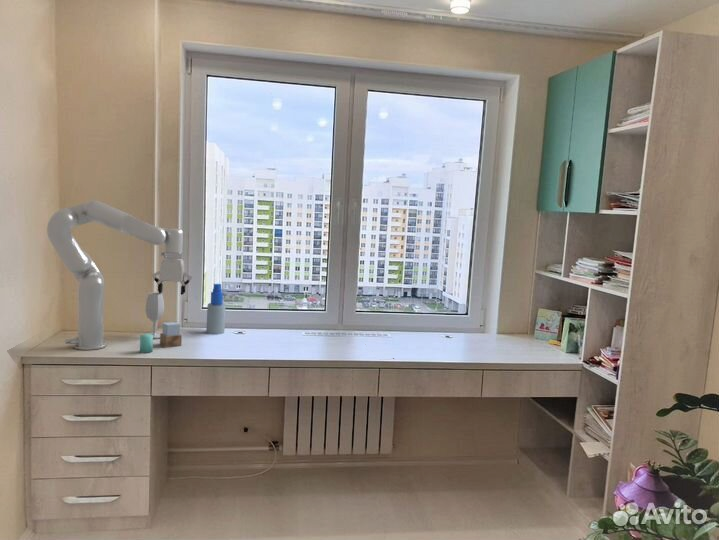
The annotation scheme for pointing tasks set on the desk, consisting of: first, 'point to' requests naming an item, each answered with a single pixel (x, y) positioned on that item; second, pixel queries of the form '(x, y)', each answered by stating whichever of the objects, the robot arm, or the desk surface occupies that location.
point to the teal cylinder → (146, 343)
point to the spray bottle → (216, 312)
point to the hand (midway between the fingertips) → (171, 293)
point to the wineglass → (155, 310)
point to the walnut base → (170, 340)
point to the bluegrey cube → (171, 329)
